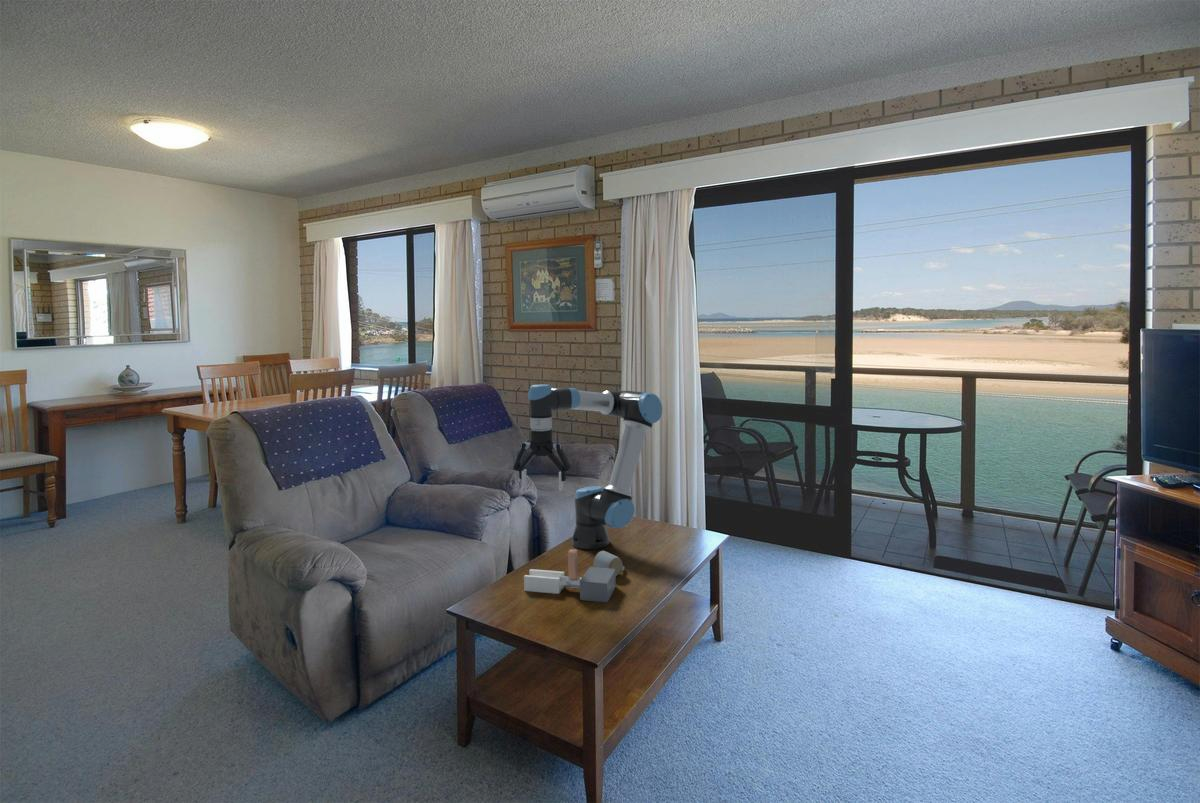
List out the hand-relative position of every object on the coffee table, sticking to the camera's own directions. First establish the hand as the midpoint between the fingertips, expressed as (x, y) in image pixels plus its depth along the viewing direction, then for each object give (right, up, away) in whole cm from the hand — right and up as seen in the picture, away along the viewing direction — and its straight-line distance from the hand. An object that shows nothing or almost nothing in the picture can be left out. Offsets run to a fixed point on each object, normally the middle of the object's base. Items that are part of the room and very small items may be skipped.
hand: (542, 489), depth 214 cm
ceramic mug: (+24, -31, +3) cm, 39 cm away
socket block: (+19, -32, -13) cm, 40 cm away
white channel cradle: (+1, -32, -9) cm, 33 cm away
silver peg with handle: (+14, -31, -12) cm, 36 cm away
